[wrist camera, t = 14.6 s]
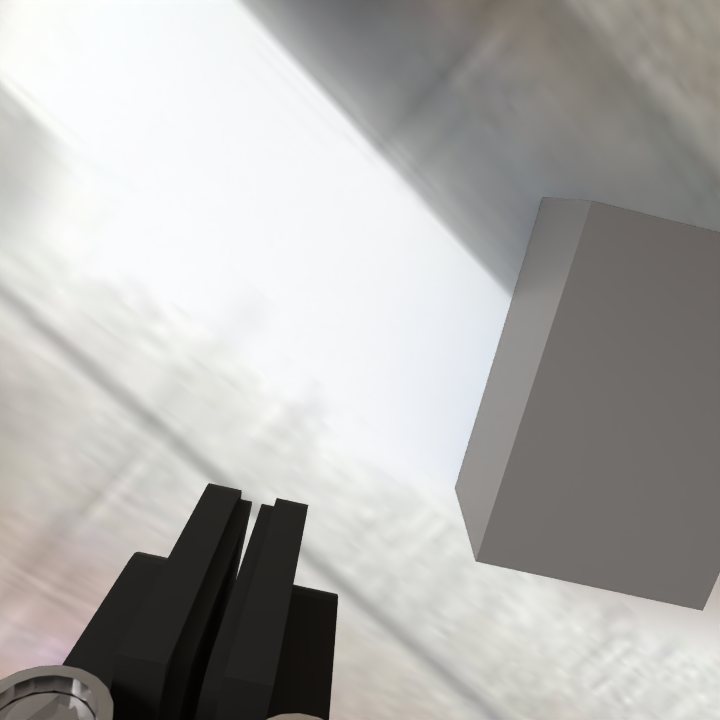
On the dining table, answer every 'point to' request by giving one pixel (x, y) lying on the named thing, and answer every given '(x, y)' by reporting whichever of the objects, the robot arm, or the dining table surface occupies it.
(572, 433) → the block
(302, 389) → the dining table surface
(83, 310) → the dining table surface
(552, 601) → the dining table surface
